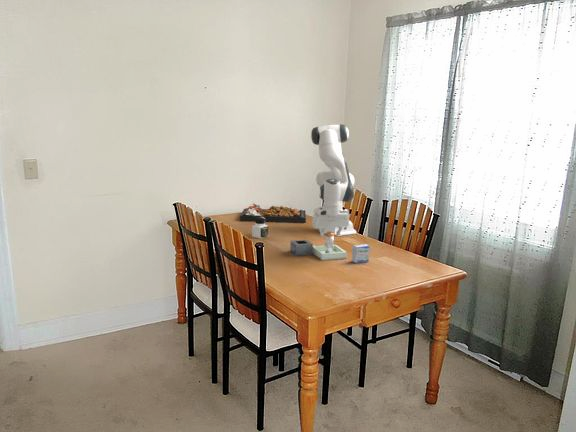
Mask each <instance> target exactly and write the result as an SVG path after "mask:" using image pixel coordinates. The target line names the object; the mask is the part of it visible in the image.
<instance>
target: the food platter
mask: <svg viewBox="0 0 576 432" xmlns="http://www.w3.org/2000/svg"><path fill="white" fill-rule="evenodd" d="M252 202H253V203H252V205H248V207H246V208H243V210H242V212H241V214H240V216H239V222H250V223H255V218H257V217H264V218H265V223H274V222H275V223H279V224H281V223H282V224H304V223H307V221H306V220H307V217H306V216H307V215H306V214H307V213H306V210H302V209H296V208H292V207H291V206H290V207H287V206H285V207H284V206H282V205H281V206H275V205H271V206H270V207H269V208H265V209H264V208H261V206H260V204H258V205H257V204H256V203H254V201H252Z"/></svg>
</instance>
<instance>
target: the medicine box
mask: <svg viewBox="0 0 576 432" xmlns="http://www.w3.org/2000/svg"><path fill="white" fill-rule="evenodd" d="M351 247H352V248H351V249H352V251H351V262H353V263H356V264H361V263H367V262H369V260H370V259H369V258H370V245H369V244H366V243H363V244H355V245H352V246H351Z"/></svg>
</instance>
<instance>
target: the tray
mask: <svg viewBox="0 0 576 432" xmlns="http://www.w3.org/2000/svg"><path fill="white" fill-rule="evenodd" d="M312 255H314V256H316V257H317V258H318V259H319V260H321V261H331V260H344V259H345V260H346V259H347V258H348V257H347V256H348V252H347V251H346V250H344V248H343V249H342V247H340V246H338V245H337V244H334V248H333V253H325V245H317V246H314V245H313V252H312Z"/></svg>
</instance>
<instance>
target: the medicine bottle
mask: <svg viewBox="0 0 576 432" xmlns="http://www.w3.org/2000/svg"><path fill="white" fill-rule="evenodd" d="M268 237H269V225H267V224H266V222H265V218H264V217H257V218H255V222H254V224H253V225H251V238H254V239H260V240H261V239H265V238H268Z"/></svg>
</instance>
